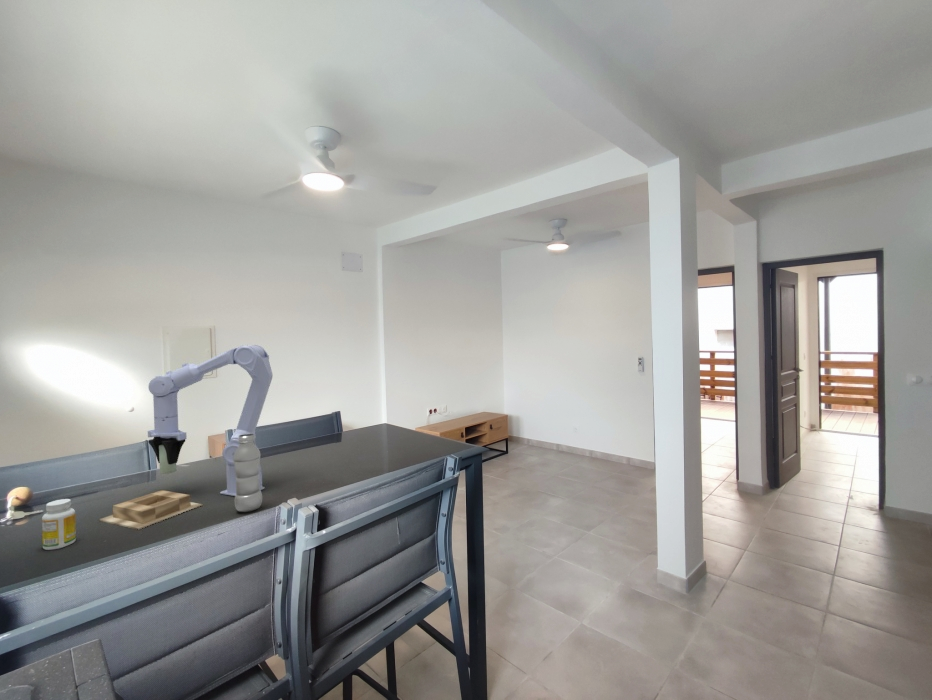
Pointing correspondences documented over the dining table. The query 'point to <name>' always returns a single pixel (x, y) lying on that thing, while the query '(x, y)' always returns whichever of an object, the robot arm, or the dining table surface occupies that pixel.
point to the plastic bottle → (247, 474)
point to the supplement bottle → (58, 525)
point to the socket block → (150, 509)
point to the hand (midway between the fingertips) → (167, 462)
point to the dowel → (165, 462)
